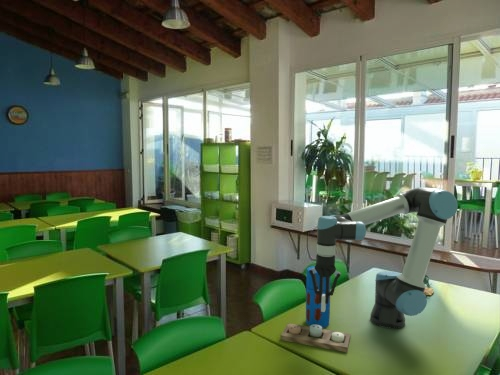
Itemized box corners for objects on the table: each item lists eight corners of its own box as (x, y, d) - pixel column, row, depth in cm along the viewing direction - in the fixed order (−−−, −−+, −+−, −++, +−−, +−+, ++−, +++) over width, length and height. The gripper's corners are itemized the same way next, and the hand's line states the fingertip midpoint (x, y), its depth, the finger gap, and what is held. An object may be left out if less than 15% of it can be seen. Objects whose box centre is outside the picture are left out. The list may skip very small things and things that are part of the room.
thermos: (329, 329, 164) (330, 274, 162) (305, 326, 167) (306, 272, 164) (329, 318, 175) (330, 266, 173) (306, 316, 177) (307, 265, 175)
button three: (301, 332, 160) (301, 325, 160) (299, 337, 155) (299, 330, 155) (290, 330, 162) (290, 323, 162) (287, 335, 157) (287, 328, 157)
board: (350, 338, 156) (350, 333, 156) (347, 352, 145) (347, 347, 145) (288, 327, 166) (288, 323, 166) (280, 339, 155) (280, 335, 154)
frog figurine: (442, 292, 209) (442, 267, 207) (422, 302, 200) (422, 276, 198) (426, 287, 218) (426, 263, 215) (406, 296, 209) (406, 271, 206)
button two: (322, 332, 157) (323, 325, 156) (320, 337, 152) (320, 330, 152) (311, 330, 159) (311, 323, 158) (308, 335, 154) (308, 328, 154)
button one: (344, 340, 154) (344, 332, 153) (343, 346, 149) (343, 338, 149) (332, 338, 155) (332, 330, 155) (330, 343, 151) (330, 336, 151)
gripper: (343, 253, 152) (340, 309, 154) (311, 250, 157) (309, 304, 159) (341, 258, 145) (338, 316, 147) (308, 254, 149) (305, 311, 151)
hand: (323, 310), depth 153 cm, fingers closed
